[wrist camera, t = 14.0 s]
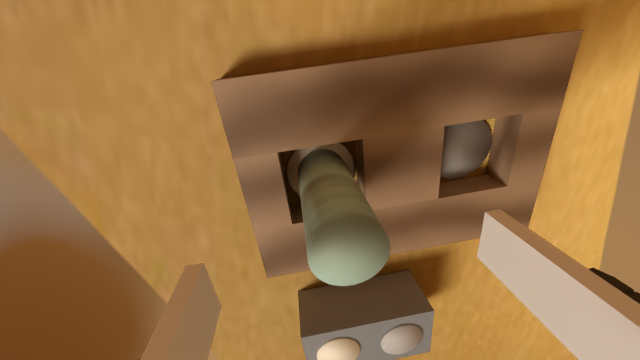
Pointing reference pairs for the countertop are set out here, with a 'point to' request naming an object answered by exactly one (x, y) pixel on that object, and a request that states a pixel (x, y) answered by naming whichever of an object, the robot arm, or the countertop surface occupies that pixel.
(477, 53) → the board
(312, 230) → the pin
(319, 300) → the block
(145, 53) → the countertop surface
